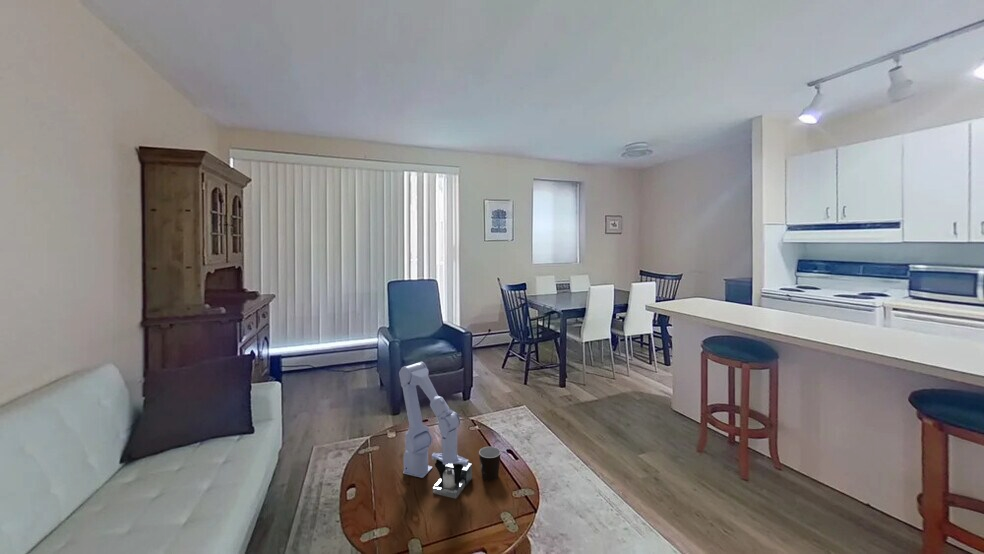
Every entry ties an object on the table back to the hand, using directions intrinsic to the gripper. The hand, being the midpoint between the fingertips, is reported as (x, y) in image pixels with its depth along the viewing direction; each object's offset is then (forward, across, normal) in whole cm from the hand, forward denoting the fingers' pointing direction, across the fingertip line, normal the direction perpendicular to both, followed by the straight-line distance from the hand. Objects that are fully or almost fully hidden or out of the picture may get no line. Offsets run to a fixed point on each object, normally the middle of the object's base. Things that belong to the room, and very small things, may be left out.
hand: (450, 480), depth 147 cm
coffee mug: (+3, +11, +14) cm, 18 cm away
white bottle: (+3, 0, 0) cm, 3 cm away
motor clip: (+3, -1, +2) cm, 4 cm away
